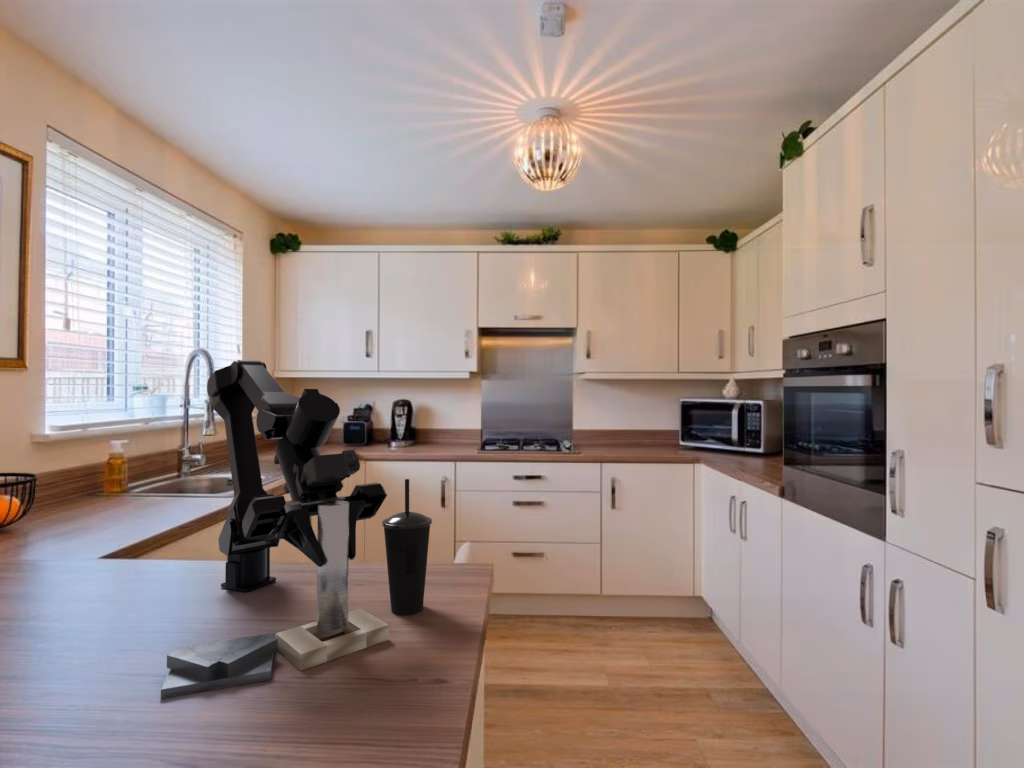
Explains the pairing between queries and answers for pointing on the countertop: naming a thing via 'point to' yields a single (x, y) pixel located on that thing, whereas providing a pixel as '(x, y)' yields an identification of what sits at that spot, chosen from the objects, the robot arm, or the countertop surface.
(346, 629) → the beige rectangular frame
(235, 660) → the v block
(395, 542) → the drinking cup
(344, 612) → the axle
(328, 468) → the robot arm
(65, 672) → the countertop surface
